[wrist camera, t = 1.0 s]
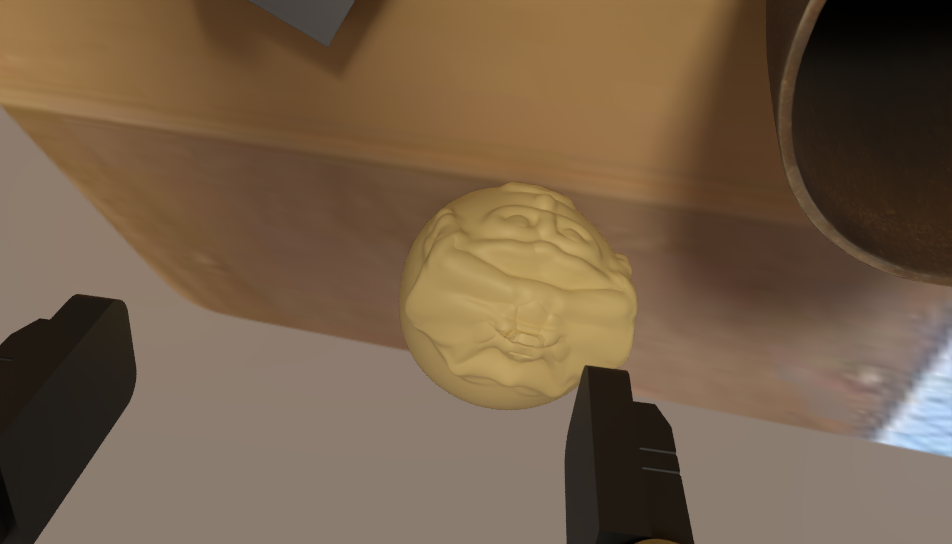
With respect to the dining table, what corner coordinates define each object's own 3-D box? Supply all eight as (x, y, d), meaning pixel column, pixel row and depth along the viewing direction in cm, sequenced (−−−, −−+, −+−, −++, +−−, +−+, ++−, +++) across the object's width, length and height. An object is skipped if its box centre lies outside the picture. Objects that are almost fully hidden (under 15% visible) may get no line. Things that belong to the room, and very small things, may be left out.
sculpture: (649, 182, 42) (677, 331, 34) (567, 328, 50) (574, 477, 42) (441, 123, 40) (419, 266, 32) (390, 285, 48) (362, 432, 40)
